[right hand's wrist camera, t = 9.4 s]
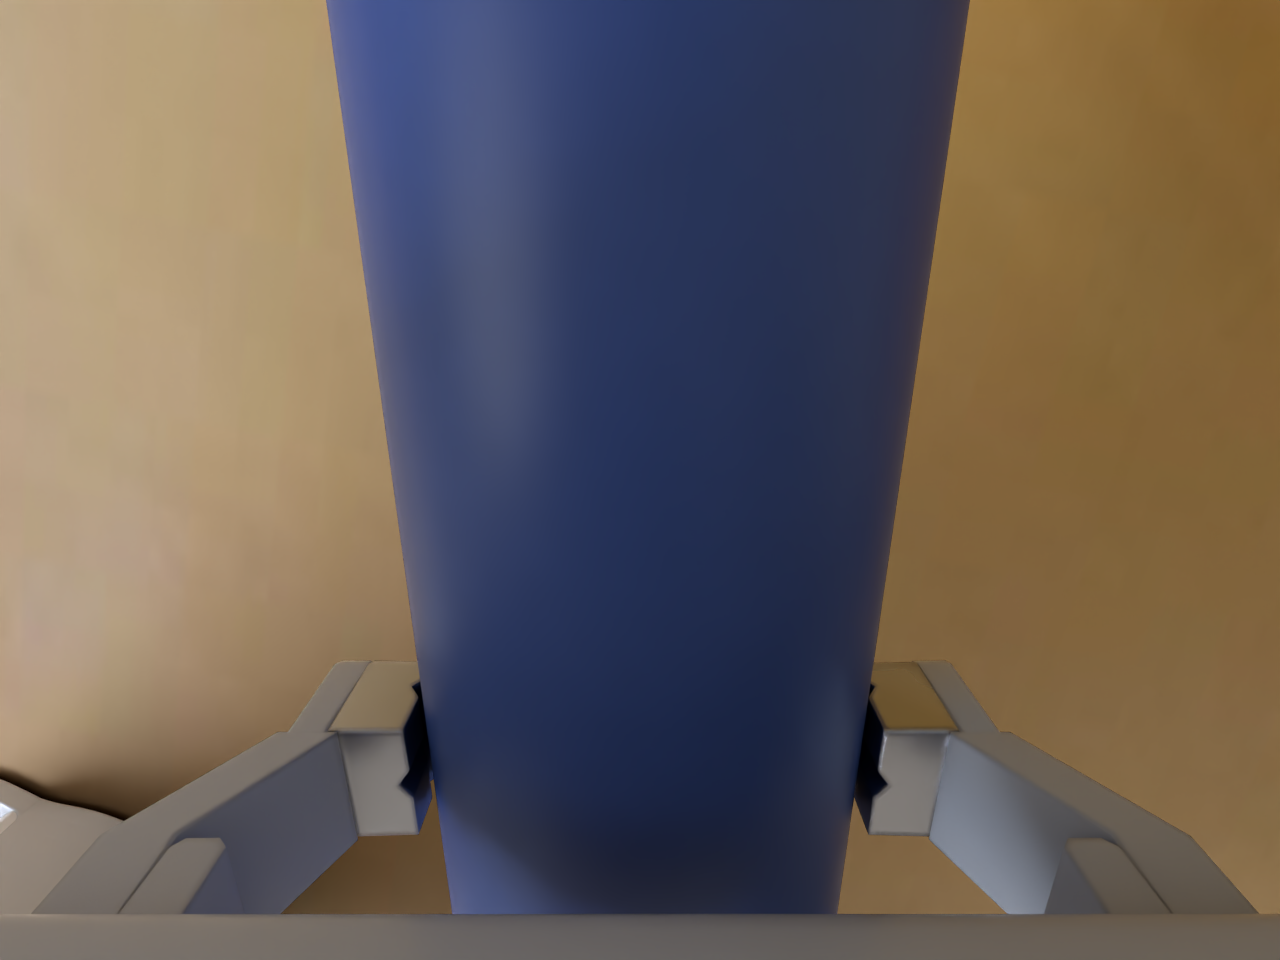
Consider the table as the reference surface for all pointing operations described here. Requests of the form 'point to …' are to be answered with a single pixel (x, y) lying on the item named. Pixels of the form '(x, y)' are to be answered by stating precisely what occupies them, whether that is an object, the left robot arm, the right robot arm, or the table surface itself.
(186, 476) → the table surface
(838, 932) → the right robot arm
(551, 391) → the rod
